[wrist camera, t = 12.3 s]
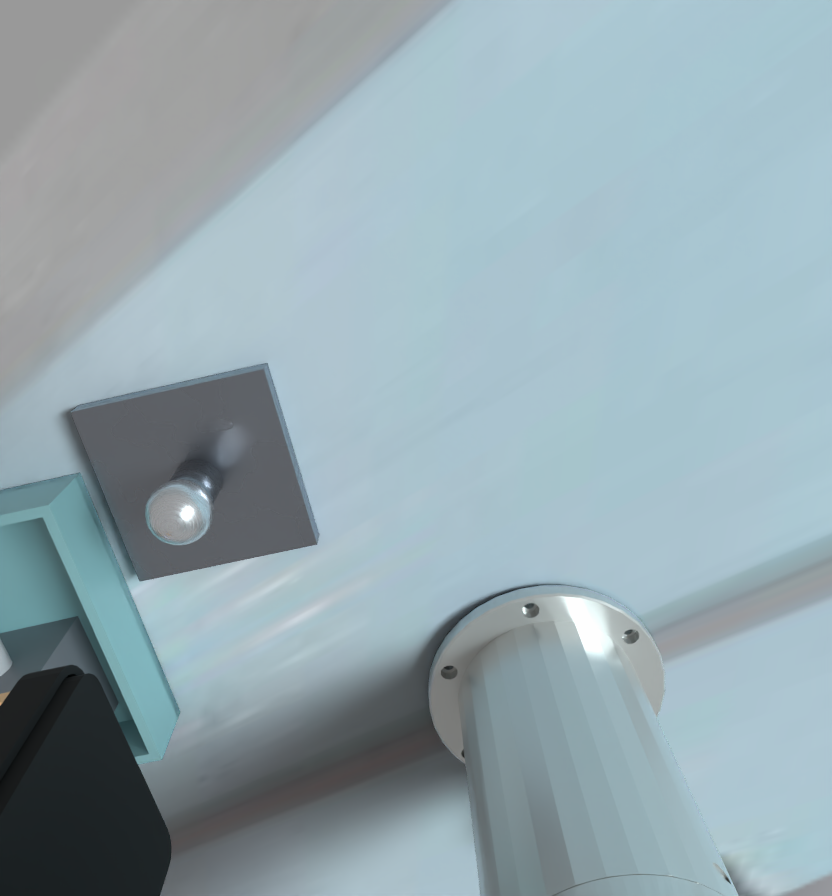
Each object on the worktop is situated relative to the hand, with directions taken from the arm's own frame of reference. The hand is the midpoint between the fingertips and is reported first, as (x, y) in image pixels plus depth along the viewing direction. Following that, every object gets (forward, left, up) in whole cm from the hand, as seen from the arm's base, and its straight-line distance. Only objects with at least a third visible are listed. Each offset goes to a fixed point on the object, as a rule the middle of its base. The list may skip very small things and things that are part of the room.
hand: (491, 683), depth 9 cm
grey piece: (-6, +12, -26) cm, 30 cm away
